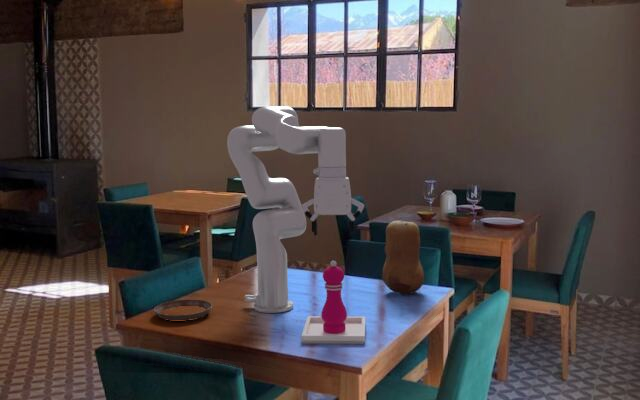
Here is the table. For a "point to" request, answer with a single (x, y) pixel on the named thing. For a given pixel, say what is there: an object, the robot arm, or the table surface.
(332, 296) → the pepper mill
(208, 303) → the plant saucer
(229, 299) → the table surface
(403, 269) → the butternut squash
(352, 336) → the tray
